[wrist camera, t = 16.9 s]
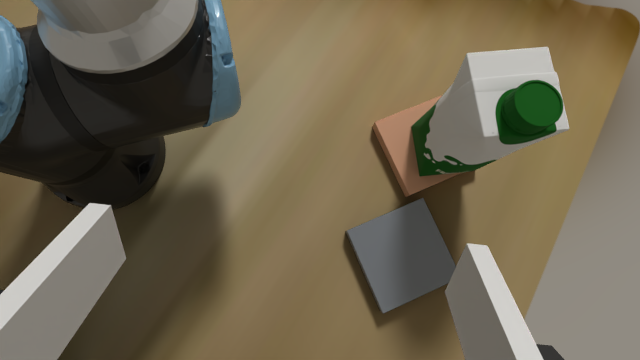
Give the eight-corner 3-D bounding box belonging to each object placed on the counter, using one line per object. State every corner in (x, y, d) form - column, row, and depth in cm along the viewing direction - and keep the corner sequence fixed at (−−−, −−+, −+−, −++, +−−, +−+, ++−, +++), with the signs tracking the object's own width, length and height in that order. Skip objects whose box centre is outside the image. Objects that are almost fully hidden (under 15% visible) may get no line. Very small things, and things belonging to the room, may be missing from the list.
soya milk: (413, 184, 47) (491, 136, 27) (403, 119, 48) (469, 31, 29) (477, 177, 47) (599, 126, 28) (465, 114, 49) (571, 23, 29)
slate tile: (345, 231, 47) (346, 230, 45) (418, 199, 48) (423, 197, 46) (379, 310, 45) (383, 313, 43) (454, 276, 47) (461, 277, 45)
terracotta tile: (372, 126, 50) (374, 121, 48) (440, 99, 51) (445, 93, 49) (405, 197, 48) (409, 195, 46) (475, 167, 50) (482, 164, 48)
